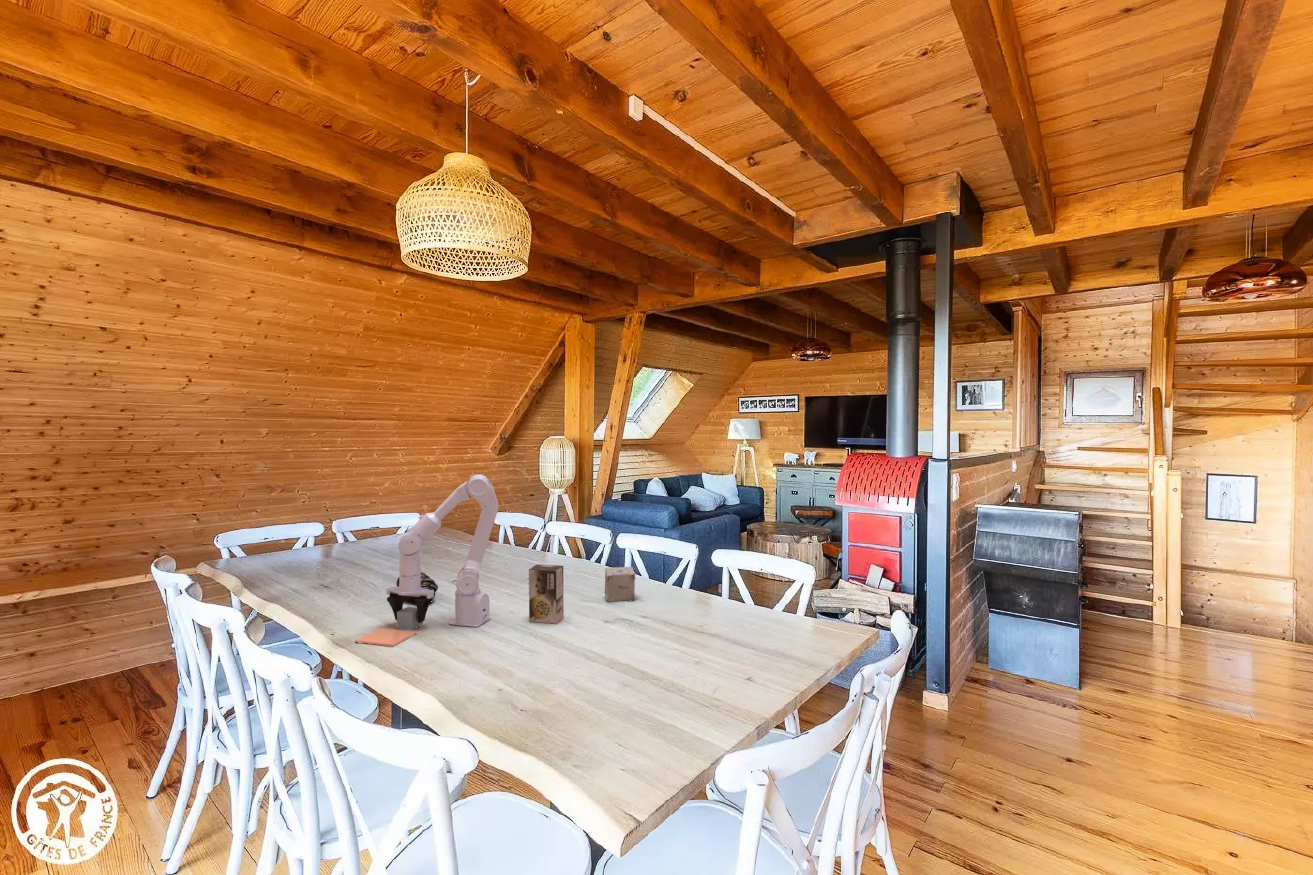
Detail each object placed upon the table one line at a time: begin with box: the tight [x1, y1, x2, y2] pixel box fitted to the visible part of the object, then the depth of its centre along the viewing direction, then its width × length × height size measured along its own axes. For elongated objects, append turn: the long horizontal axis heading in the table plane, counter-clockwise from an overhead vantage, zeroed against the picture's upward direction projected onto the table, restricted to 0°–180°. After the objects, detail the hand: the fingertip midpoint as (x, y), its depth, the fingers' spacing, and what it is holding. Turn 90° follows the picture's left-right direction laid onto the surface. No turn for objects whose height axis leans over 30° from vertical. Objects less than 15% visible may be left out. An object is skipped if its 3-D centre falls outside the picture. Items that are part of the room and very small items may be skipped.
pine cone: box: [396, 571, 439, 605], centre depth 197 cm, size 10×18×10 cm, turn 57°
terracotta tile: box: [354, 627, 418, 648], centre depth 162 cm, size 12×10×1 cm
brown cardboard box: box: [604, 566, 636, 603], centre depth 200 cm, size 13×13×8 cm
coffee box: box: [528, 564, 565, 624], centre depth 178 cm, size 9×6×16 cm
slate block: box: [396, 606, 424, 631], centre depth 171 cm, size 5×5×5 cm
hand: (409, 620), depth 171 cm, fingers open, 7 cm apart
